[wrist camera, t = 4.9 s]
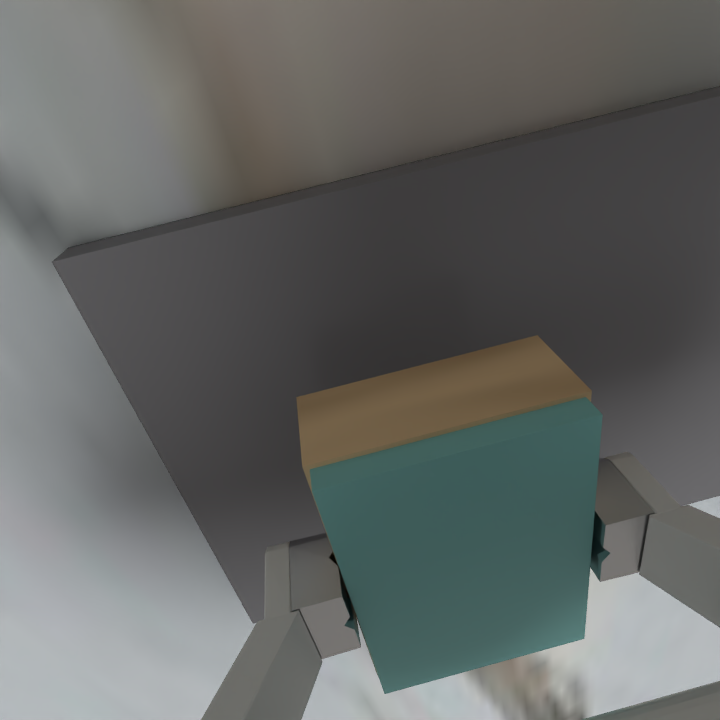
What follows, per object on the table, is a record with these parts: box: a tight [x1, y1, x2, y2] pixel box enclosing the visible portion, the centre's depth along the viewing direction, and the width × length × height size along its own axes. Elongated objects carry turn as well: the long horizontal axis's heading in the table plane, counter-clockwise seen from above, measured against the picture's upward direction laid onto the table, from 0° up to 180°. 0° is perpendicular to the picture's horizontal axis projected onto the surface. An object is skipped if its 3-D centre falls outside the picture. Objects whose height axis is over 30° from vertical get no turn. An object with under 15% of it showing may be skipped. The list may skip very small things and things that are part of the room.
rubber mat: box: [52, 86, 720, 623], centre depth 15 cm, size 14×30×1 cm, turn 102°
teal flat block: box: [296, 335, 603, 694], centre depth 11 cm, size 7×5×2 cm
